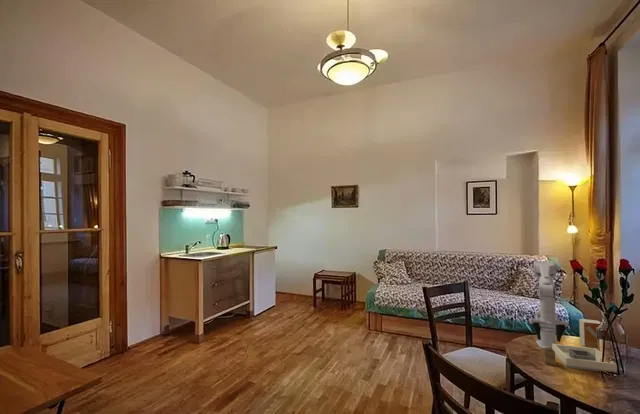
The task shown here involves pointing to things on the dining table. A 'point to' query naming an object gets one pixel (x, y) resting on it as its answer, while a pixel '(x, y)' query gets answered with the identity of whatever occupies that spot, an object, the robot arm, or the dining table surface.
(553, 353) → the peg
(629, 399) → the dining table surface
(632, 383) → the dining table surface
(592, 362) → the cream square tray
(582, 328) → the small box
